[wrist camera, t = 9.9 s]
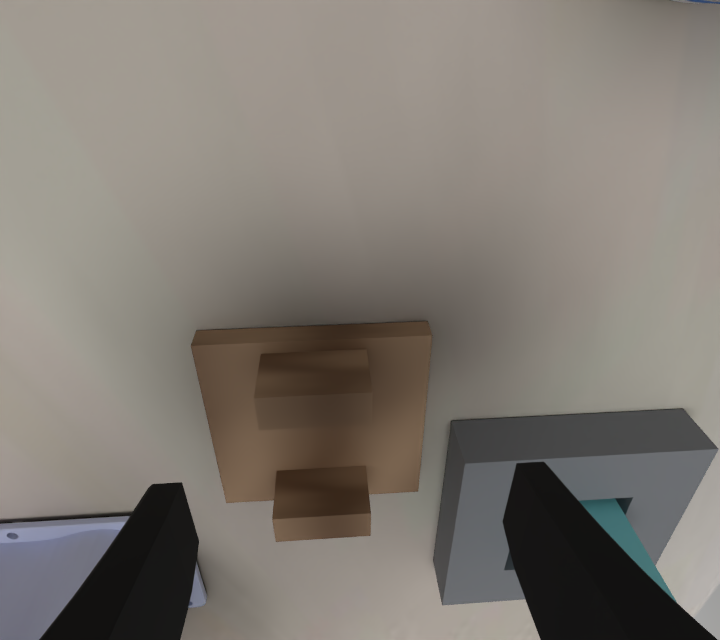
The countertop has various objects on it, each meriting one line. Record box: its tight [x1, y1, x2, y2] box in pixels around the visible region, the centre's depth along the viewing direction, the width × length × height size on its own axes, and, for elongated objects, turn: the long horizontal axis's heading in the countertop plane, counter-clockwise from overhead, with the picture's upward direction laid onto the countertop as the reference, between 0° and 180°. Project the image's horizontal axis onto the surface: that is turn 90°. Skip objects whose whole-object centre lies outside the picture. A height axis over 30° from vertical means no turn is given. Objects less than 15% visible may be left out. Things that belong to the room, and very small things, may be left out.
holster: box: [191, 321, 432, 542], centre depth 21 cm, size 9×9×4 cm
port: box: [433, 409, 718, 605], centre depth 25 cm, size 11×11×3 cm
